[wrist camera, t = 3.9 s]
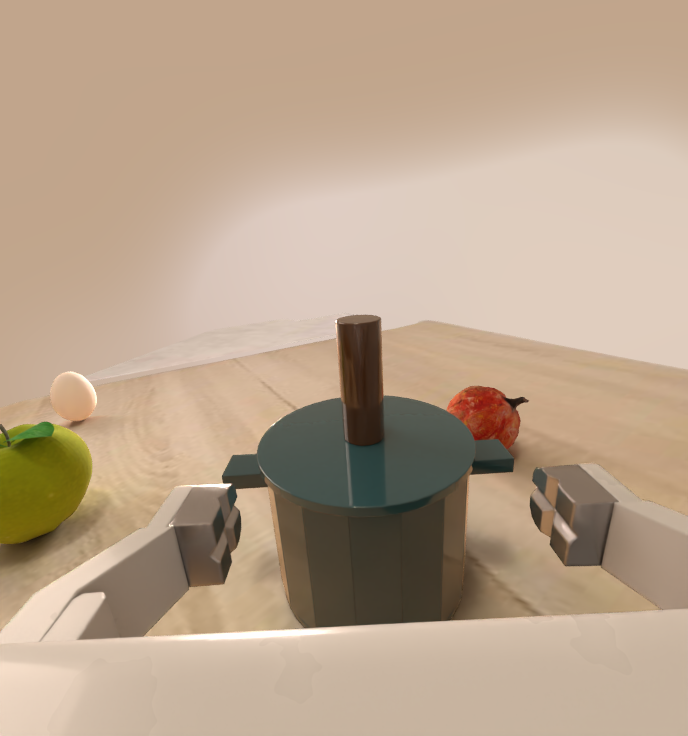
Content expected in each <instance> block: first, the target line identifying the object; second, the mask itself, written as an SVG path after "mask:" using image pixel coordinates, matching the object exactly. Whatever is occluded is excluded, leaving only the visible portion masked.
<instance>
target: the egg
mask: <svg viewBox="0 0 688 736" xmlns="http://www.w3.org/2000/svg"><path fill="white" fill-rule="evenodd" d="M50 401H51V405H52V407H53V409H54V410H55V412H56V413H57V414H58V415H60V416H61V417H62V418H65V419H67V420H70V421H81V420H84V419H86V418H87V417H89V416H90V415H91V413H92V412H93V411H94V409H95V406H96V402H97V397H96V393H95V390H94V388H93V386H92V385H91V383H90V382H89V381H88V380H87V379H86V378H84V377H83V376H82V375H80V374H78V373H74V372H64V373H62V374H60V375H59V376H58V377H56V379H55V380H54V381H53V384H52V386H51V390H50Z"/></svg>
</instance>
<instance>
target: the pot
mask: <svg viewBox="0 0 688 736" xmlns="http://www.w3.org/2000/svg"><path fill="white" fill-rule="evenodd" d="M475 444H476V459H475V465H474V467H473V470H472V472H471V474H470V475H473V474H489V473H506V472H513V467H514V457H513V456H512V455H511V454H510V453H509V451H508V450H507V449H506V448H505V447H504V445H503V444H502V443H501V442H500V441H499V439H489V440H475ZM222 480H223V484H233V485H234V486H235V489H243V488H260V487H268V492H269V499H270V505H271V512H272V519H273V525H274V532H275V538H276V545H277V552H278V558H279V565H280V571H281V578H282V582H283V585H284V588H285V593H286V597H287V600H288V603H289V605H290V608H291V610H292V611H293V613H294V615H295V616H296V618H297V619H298V621H299V622H300V623H301V624H302V625H303V627H304V628H320V627H340V626H359V625H378V624H397V623H416V622H435V621H450V620H451V619H452V617H453V615H454V614H455V612H456V610H457V608H458V605H459V602H460V600H461V598H462V590H463V579H464V569H465V551H466V532H467V513H468V494H469V477H468V478H467V480H466V481H465V482H464V483H463V484H462V485H461V486H460V487H459V488H458V489H457V490H455V491H454V492H453V493H451V494H450V495H448V496H447V497H445V498H443V499H441V500H439V501H437V502H435V503H433V504H431V505H428V506H425V507H422V508H420V509H417V510H413V511H409V512H405V513H401V514H395V515H388V516H379V517H344V516H336V515H329V514H324V513H320V512H315V511H311V510H308V509H305V508H303V507H300V506H297V505H295V504H293V503H291V502H289V501H287V500H285V499H283V498H282V497H281V496H279V495H278V494H276V493H275V492H274V491H273V490H272V489H271V488H270V487H269V486H268V485H267V484H266V483H265V481H264V479H263V478H262V476H261V474H260V471H259V468H258V462H257V454H245V455H233V456H232V457H231V459H230V461H229V463H228V465H227V467H226V469H225V471H224V473H223V475H222Z"/></svg>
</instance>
